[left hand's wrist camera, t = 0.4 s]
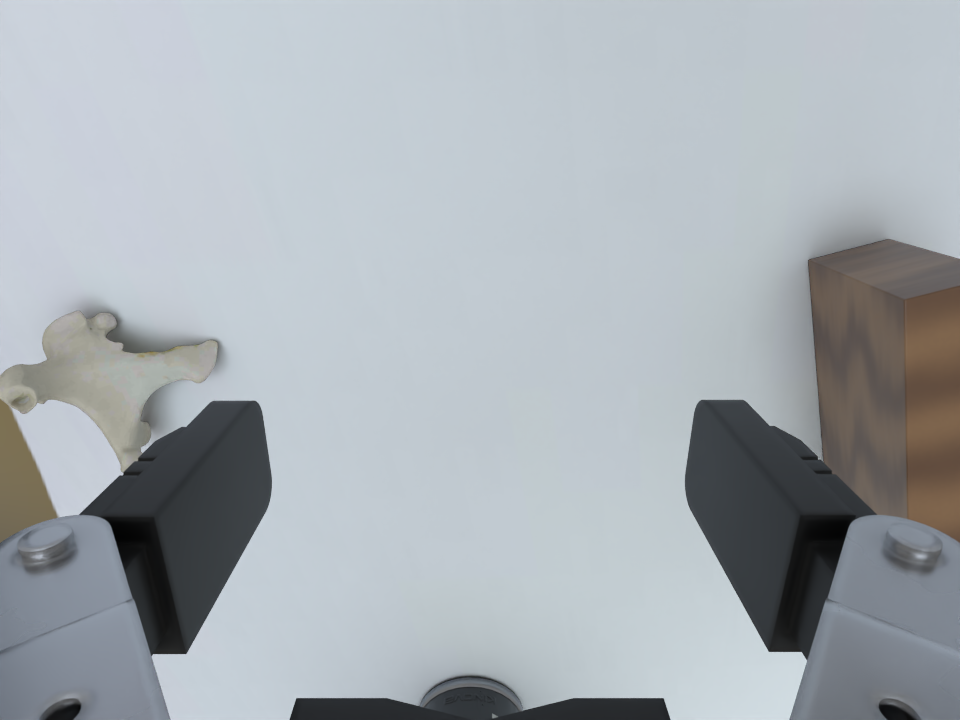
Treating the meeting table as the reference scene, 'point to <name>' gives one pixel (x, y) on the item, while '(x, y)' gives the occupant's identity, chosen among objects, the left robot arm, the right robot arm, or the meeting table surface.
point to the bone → (103, 378)
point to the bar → (891, 377)
